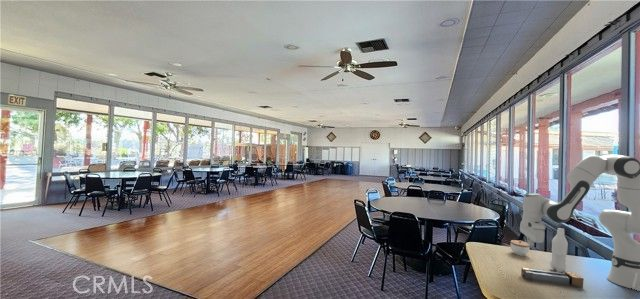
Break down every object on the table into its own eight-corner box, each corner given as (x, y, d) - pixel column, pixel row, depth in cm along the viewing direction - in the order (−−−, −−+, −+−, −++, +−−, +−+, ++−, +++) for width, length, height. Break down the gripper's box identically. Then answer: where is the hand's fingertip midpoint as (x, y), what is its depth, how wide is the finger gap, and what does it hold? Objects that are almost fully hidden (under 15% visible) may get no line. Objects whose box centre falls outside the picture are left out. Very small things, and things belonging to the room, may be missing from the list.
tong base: (574, 281, 155) (574, 272, 155) (582, 287, 148) (583, 278, 148) (520, 274, 161) (520, 265, 161) (526, 280, 154) (527, 271, 154)
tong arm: (564, 280, 156) (565, 272, 155) (567, 282, 153) (568, 274, 153) (521, 274, 160) (521, 267, 160) (523, 276, 157) (523, 269, 157)
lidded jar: (506, 250, 197) (507, 237, 197) (520, 251, 198) (521, 237, 197) (517, 257, 186) (518, 243, 186) (533, 257, 187) (534, 243, 187)
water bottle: (568, 274, 164) (572, 231, 163) (554, 272, 165) (557, 230, 164) (560, 269, 171) (564, 227, 170) (547, 267, 172) (550, 226, 171)
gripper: (517, 216, 174) (516, 238, 175) (533, 226, 155) (532, 251, 155) (529, 216, 173) (527, 239, 174) (547, 227, 153) (546, 252, 154)
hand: (530, 245), depth 164 cm, fingers closed
